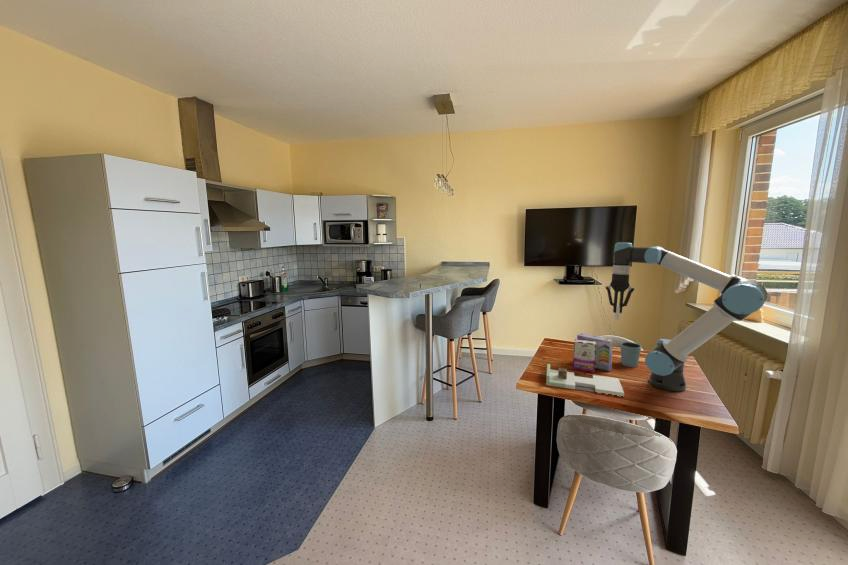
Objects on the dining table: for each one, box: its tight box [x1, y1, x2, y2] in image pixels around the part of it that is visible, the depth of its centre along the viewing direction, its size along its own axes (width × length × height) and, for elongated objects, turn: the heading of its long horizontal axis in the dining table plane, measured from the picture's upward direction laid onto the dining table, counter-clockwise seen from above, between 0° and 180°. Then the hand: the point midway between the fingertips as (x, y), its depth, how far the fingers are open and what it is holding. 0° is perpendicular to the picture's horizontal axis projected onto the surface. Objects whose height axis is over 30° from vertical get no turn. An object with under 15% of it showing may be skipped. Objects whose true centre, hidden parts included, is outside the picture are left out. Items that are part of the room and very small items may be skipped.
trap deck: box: [545, 363, 625, 398], centre depth 173 cm, size 34×16×5 cm, turn 69°
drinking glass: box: [620, 341, 642, 368], centre depth 197 cm, size 10×10×12 cm
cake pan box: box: [576, 332, 614, 372], centre depth 194 cm, size 19×5×18 cm, turn 42°
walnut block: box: [558, 367, 568, 379], centre depth 176 cm, size 4×4×4 cm
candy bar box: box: [572, 338, 596, 373], centre depth 190 cm, size 11×5×16 cm, turn 62°
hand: (616, 319), depth 174 cm, fingers closed
